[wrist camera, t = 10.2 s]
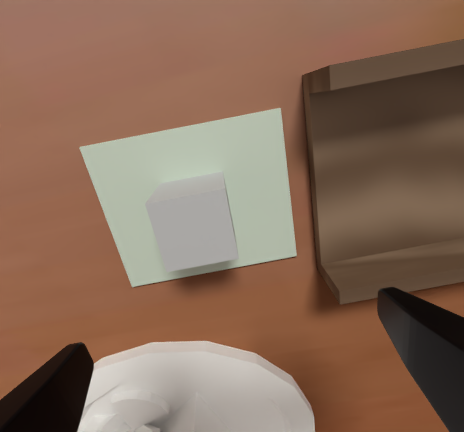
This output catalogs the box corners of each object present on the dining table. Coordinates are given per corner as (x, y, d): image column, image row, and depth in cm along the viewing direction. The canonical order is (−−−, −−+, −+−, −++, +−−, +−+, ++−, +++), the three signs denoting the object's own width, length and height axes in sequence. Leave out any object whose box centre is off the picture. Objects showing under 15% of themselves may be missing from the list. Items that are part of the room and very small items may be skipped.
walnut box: (506, 233, 20) (570, 261, 17) (317, 268, 21) (340, 304, 17) (548, 27, 16) (652, 2, 12) (302, 75, 16) (329, 65, 12)
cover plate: (293, 250, 21) (315, 290, 16) (135, 280, 21) (113, 327, 16) (277, 107, 17) (300, 108, 12) (85, 145, 17) (39, 158, 13)
